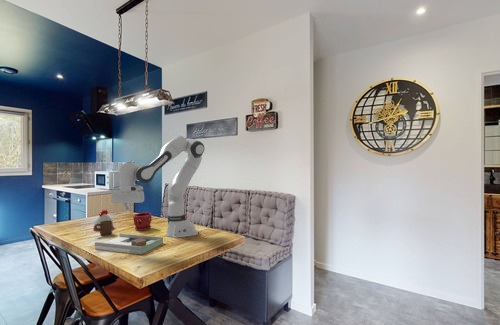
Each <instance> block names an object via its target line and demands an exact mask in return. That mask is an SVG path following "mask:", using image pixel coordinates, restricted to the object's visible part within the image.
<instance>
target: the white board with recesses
mask: <svg viewBox="0 0 500 325" xmlns="http://www.w3.org/2000/svg"><path fill="white" fill-rule="evenodd" d="M118 235H119V236H117V237H115V238H112V239H110V240H107V241H106V240H105V241H104V242H101V241H95V242H94V249H95V250H100V251H101V250H102V251H112V252H119V253H128V254H131V253H130V250H139V251H142V247H141V246H131V241H132V240H136V239H140V238H142V239H145V240H146V242H148V241H150V240H158V239H160V238H162V240H163V241H164V237H163V236H157V235H156V236H154V235H143V234H134V233H133V234H132V233H131V234H130V233H123V232H122V233H119V234H118Z"/></svg>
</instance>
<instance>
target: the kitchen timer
mask: <svg viewBox="0 0 500 325" xmlns="http://www.w3.org/2000/svg"><path fill="white" fill-rule="evenodd" d="M108 214H109V211H108V210H107V209H102V210H101V211H100V213H98V216H97V218H96V219H95V221H94V224H93V231H94V232H97V231H96V230H95V229H94V226H95V225H96V224H100V222H102V221H112V230H113V229H114V222H113V221H114V220H113V219H112V217H110V216H109V215H108ZM97 228H100V226H97Z"/></svg>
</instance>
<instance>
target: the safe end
mask: <svg viewBox="0 0 500 325" xmlns="http://www.w3.org/2000/svg"><path fill="white" fill-rule="evenodd" d="M162 244H164V239H163V240H162V238H160V239H158V240H150V241H148V242H146V245H145V246H143V247H142V251H139V250H130V253H129V254H137V255H142V254H143V255H144V254H145V253H146V252H149V251H150V250H153V249H155V248H156V247H159V246H162Z"/></svg>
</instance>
